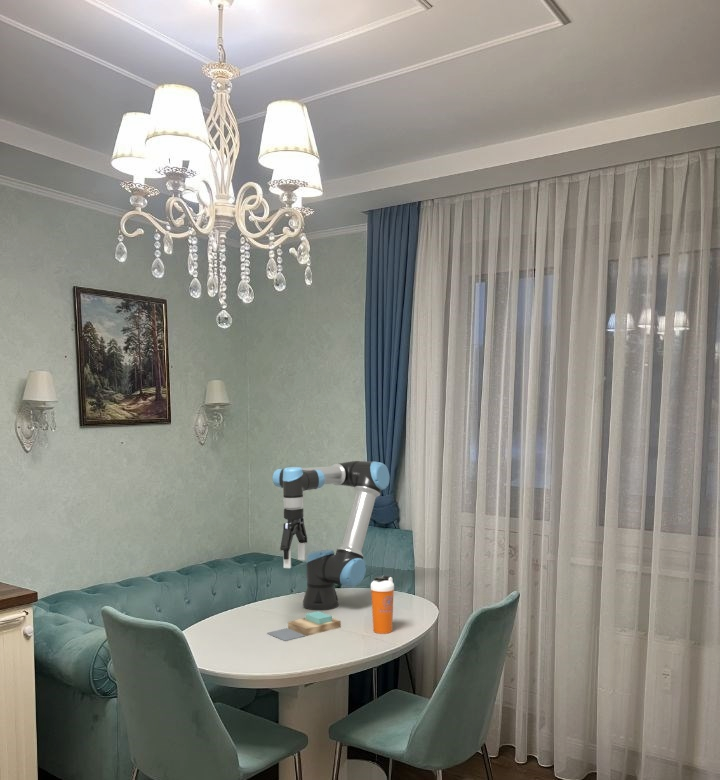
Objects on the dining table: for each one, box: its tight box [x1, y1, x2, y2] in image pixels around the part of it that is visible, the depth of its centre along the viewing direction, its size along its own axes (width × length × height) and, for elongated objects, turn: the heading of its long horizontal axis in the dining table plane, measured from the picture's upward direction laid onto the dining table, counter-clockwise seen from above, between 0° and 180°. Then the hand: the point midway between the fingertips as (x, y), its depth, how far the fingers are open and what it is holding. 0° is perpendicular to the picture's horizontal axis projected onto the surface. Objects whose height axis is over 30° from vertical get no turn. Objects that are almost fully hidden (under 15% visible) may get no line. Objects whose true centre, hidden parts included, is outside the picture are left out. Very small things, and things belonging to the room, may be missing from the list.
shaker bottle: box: [370, 574, 395, 635], centre depth 267 cm, size 9×9×20 cm
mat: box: [266, 627, 306, 642], centre depth 262 cm, size 9×12×1 cm
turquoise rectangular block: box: [304, 610, 333, 624], centre depth 272 cm, size 6×9×2 cm, turn 40°
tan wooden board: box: [287, 617, 342, 637], centre depth 271 cm, size 16×12×2 cm
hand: (294, 563), depth 271 cm, fingers open, 13 cm apart
